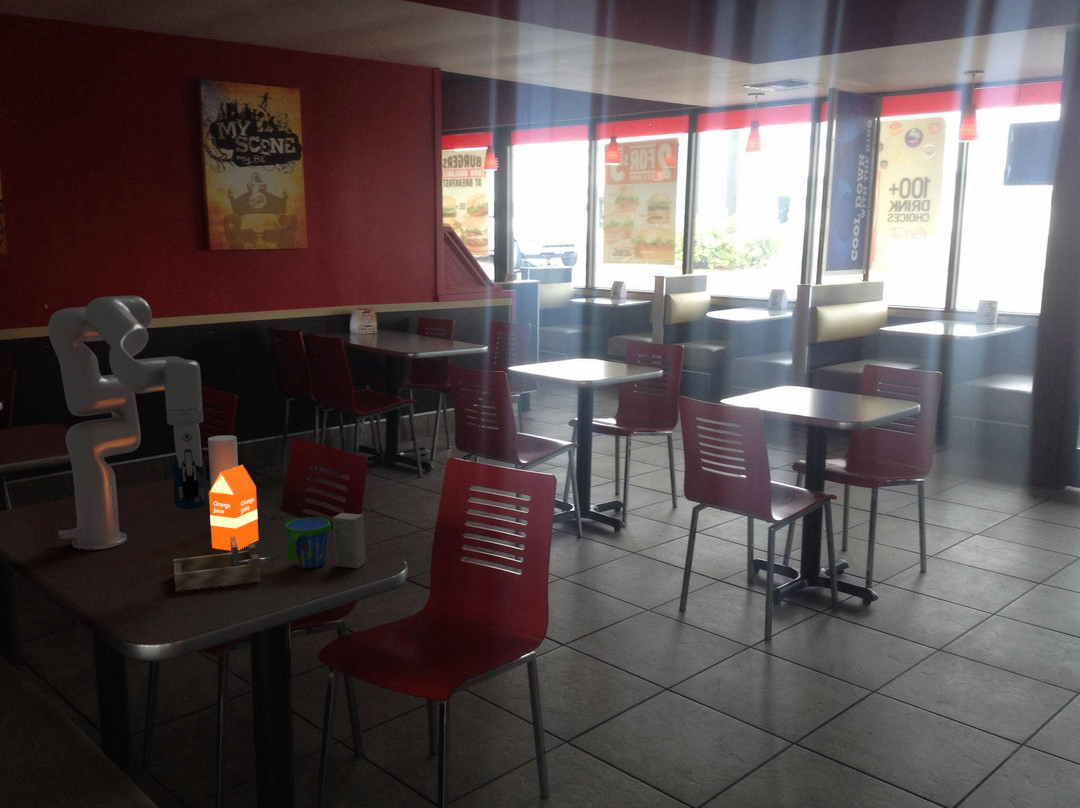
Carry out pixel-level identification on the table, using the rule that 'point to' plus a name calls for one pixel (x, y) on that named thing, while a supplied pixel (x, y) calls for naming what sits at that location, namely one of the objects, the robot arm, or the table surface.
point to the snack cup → (307, 541)
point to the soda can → (178, 489)
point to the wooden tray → (216, 570)
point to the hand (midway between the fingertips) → (190, 493)
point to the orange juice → (233, 509)
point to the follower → (243, 562)
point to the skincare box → (349, 540)
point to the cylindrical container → (221, 455)
